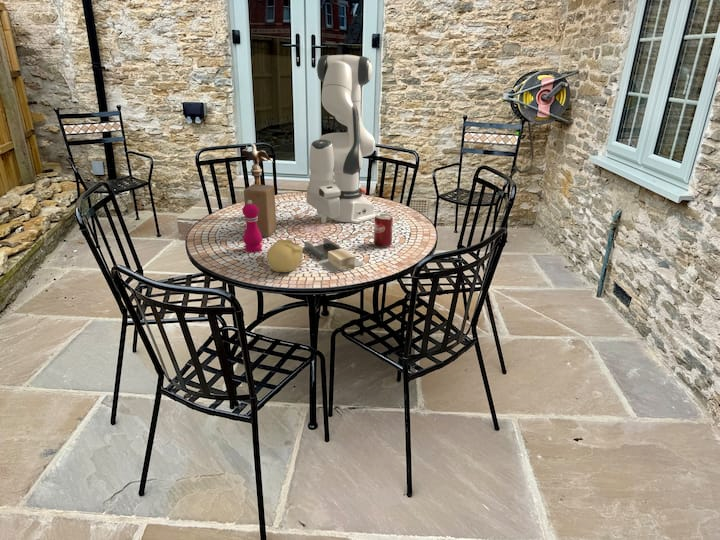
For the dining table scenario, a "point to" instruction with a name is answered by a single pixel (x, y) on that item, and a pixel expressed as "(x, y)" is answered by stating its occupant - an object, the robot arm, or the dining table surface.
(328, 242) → the metal chute
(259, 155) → the bird statue
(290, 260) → the sculpture
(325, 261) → the slate mat
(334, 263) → the birch block
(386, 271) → the dining table surface
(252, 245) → the pepper mill
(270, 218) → the wooden block
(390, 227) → the soda can
